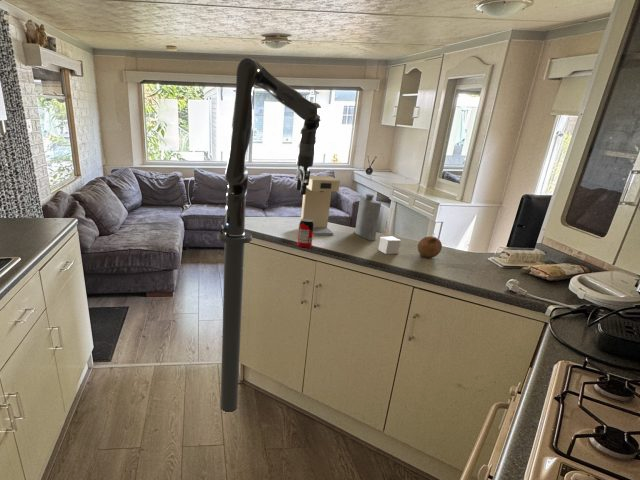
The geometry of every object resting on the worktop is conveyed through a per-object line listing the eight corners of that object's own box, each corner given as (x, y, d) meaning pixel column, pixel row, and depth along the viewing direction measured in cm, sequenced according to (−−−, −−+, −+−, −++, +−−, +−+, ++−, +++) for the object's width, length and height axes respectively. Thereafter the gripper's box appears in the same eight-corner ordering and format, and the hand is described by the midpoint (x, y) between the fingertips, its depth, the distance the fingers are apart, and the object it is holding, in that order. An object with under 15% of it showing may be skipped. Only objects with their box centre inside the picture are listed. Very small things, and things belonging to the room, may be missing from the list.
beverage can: (314, 247, 189) (317, 220, 184) (305, 249, 185) (308, 222, 180) (303, 243, 193) (305, 217, 188) (294, 246, 189) (296, 219, 184)
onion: (429, 266, 180) (437, 248, 173) (410, 255, 185) (416, 237, 177) (442, 254, 184) (449, 237, 177) (422, 244, 189) (429, 227, 181)
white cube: (378, 250, 189) (380, 236, 187) (390, 249, 190) (392, 236, 188) (385, 254, 184) (388, 240, 181) (398, 253, 185) (400, 240, 183)
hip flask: (376, 240, 203) (383, 197, 195) (368, 240, 202) (375, 198, 194) (359, 231, 217) (365, 191, 209) (352, 231, 216) (358, 191, 208)
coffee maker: (333, 235, 208) (340, 180, 198) (307, 235, 207) (313, 180, 196) (324, 227, 221) (330, 176, 211) (299, 227, 220) (305, 175, 209)
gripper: (293, 151, 188) (289, 188, 196) (300, 156, 176) (295, 195, 183) (310, 152, 189) (305, 189, 197) (318, 157, 177) (312, 196, 184)
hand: (300, 192), depth 190 cm, fingers open, 8 cm apart
